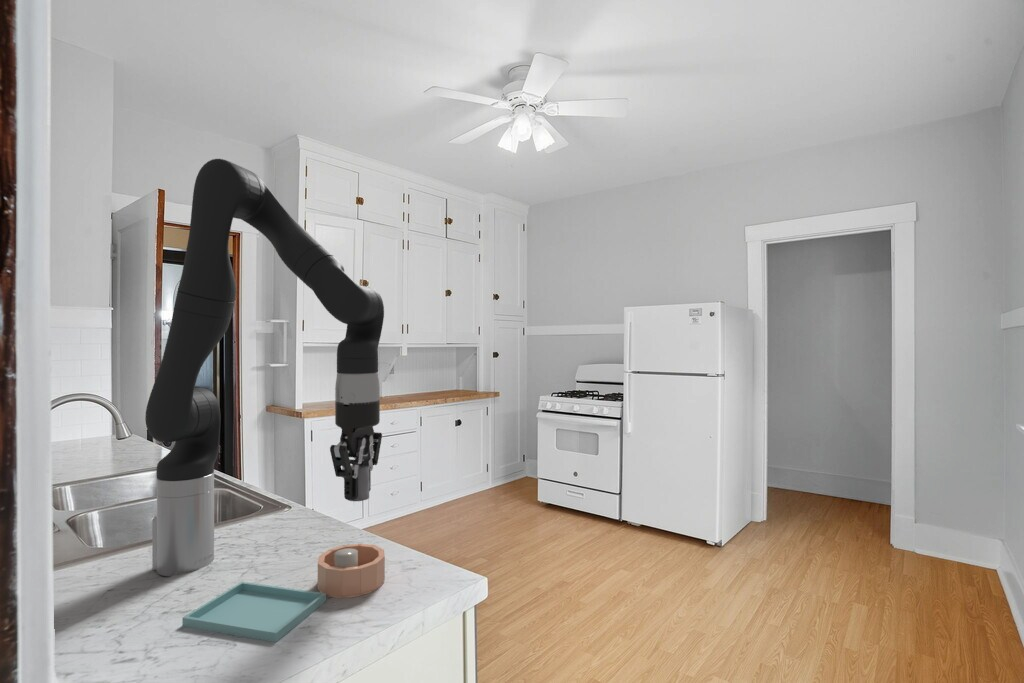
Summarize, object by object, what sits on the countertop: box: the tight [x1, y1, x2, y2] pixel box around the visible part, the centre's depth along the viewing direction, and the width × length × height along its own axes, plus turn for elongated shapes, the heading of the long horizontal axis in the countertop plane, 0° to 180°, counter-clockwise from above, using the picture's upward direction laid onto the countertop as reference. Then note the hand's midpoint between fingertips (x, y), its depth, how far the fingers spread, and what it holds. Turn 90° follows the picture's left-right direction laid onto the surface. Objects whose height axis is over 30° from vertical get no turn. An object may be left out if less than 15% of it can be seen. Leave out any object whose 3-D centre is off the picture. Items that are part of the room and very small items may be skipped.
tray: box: [182, 581, 327, 643], centre depth 84 cm, size 16×12×2 cm
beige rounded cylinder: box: [334, 548, 358, 568], centre depth 92 cm, size 4×4×6 cm
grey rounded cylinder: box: [348, 464, 370, 502], centre depth 96 cm, size 4×4×6 cm
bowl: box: [317, 543, 386, 599], centre depth 94 cm, size 11×11×5 cm
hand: (357, 495), depth 96 cm, fingers closed on grey rounded cylinder, 3 cm apart
